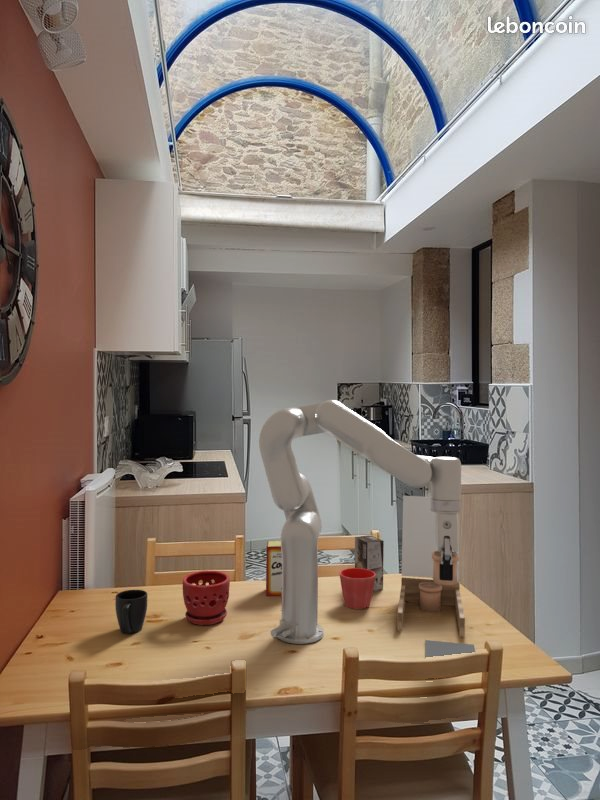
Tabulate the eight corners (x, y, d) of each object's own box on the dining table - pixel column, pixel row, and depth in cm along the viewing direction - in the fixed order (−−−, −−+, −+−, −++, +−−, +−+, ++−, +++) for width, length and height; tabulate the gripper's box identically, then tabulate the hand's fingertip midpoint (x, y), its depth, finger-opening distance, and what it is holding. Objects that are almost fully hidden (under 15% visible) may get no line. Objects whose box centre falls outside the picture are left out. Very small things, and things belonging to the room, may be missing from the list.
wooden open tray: (464, 637, 152) (464, 610, 152) (397, 631, 155) (397, 605, 155) (459, 604, 176) (459, 581, 176) (401, 599, 180) (401, 577, 180)
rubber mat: (478, 667, 135) (478, 665, 135) (425, 661, 137) (425, 660, 137) (473, 646, 146) (473, 644, 146) (425, 641, 149) (425, 640, 149)
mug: (107, 642, 147) (107, 604, 147) (119, 624, 159) (120, 589, 159) (139, 642, 147) (140, 604, 147) (150, 623, 159) (150, 589, 159)
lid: (458, 498, 184) (458, 498, 186) (403, 495, 188) (403, 496, 190) (459, 579, 177) (458, 579, 178) (401, 575, 180) (401, 575, 182)
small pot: (453, 587, 142) (453, 558, 142) (427, 582, 146) (427, 554, 146) (462, 580, 148) (463, 553, 148) (437, 575, 152) (437, 549, 152)
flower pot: (377, 611, 170) (377, 578, 170) (340, 610, 170) (340, 577, 170) (373, 599, 181) (373, 568, 181) (338, 598, 181) (338, 567, 181)
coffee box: (384, 589, 190) (384, 540, 190) (366, 592, 187) (367, 542, 187) (370, 581, 198) (371, 534, 198) (353, 583, 196) (354, 536, 196)
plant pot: (176, 615, 165) (177, 573, 165) (220, 608, 171) (220, 568, 171) (189, 632, 154) (190, 587, 154) (236, 623, 160) (236, 580, 160)
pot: (435, 614, 168) (436, 590, 168) (414, 609, 172) (414, 585, 172) (445, 608, 173) (445, 584, 173) (424, 603, 177) (424, 580, 177)
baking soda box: (295, 589, 189) (296, 540, 189) (295, 596, 183) (296, 545, 183) (266, 589, 189) (267, 540, 189) (265, 596, 183) (266, 545, 183)
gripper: (464, 512, 138) (463, 587, 138) (457, 500, 155) (457, 567, 155) (432, 511, 139) (431, 585, 139) (429, 499, 156) (428, 565, 156)
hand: (445, 575), depth 147 cm, fingers closed on small pot, 6 cm apart
